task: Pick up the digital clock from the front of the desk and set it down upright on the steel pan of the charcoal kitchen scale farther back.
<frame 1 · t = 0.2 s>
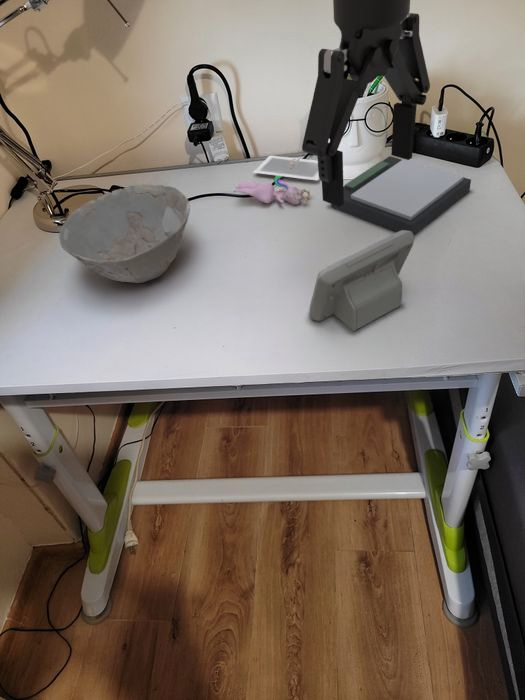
hand: (368, 178, 64), 19 cm above the table, tool pointing down, fingers open, 13 cm apart
touchpad: (292, 173, 109), on the table
scale: (399, 199, 95), on the table
ceramic bowl: (143, 267, 92), on the table
digital clock: (360, 305, 77), on the table
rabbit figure: (272, 202, 101), on the table
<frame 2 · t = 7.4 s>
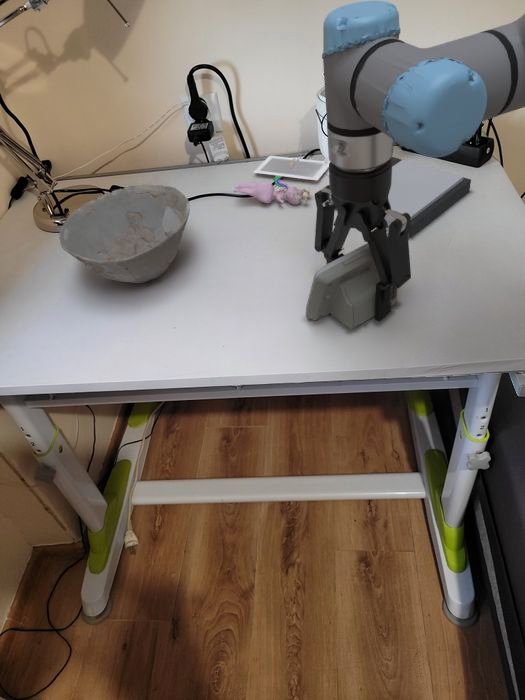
hand: (360, 303, 77), 0 cm above the table, tool pointing down, fingers closed on digital clock, 8 cm apart
digital clock: (355, 304, 77), on the table, touching gripper
everything else where it was.
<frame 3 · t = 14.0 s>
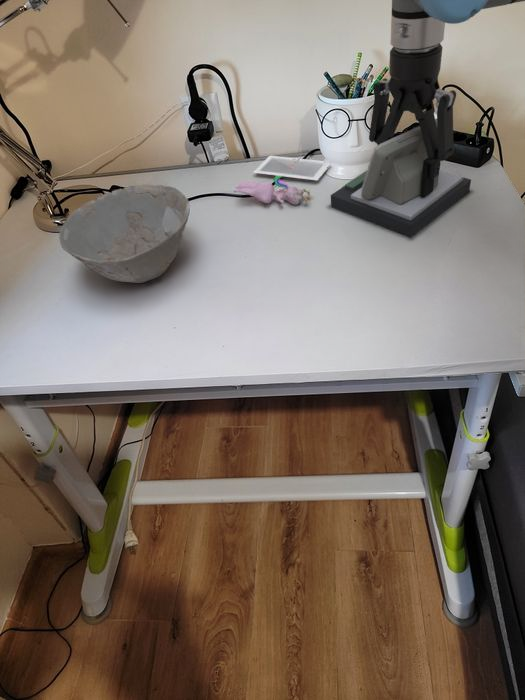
hand: (406, 187, 91), 4 cm above the table, tool pointing down, fingers closed on digital clock, 8 cm apart
digital clock: (402, 188, 92), point 3 cm above the table, touching gripper
everything else where it was.
when the fingers open (5 cm above the table, at t = 22.1 s): digital clock drops 1 cm, resting on scale.
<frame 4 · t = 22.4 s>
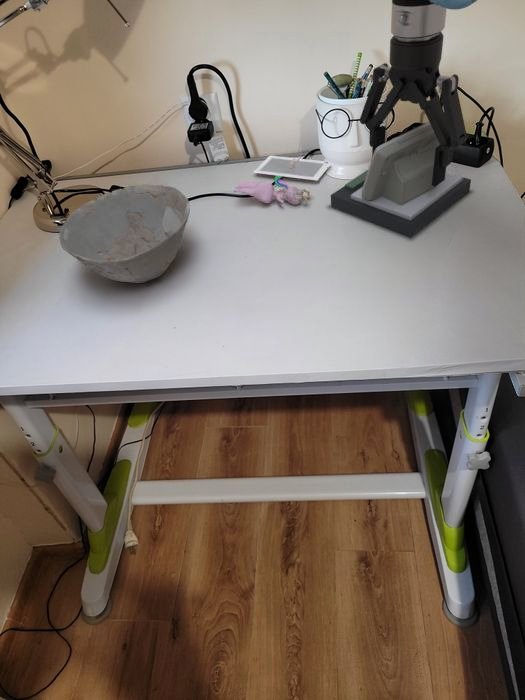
hand: (407, 173, 89), 6 cm above the table, tool pointing down, fingers open, 12 cm apart
digital clock: (402, 189, 92), point 3 cm above the table, touching scale
everything else where it was.
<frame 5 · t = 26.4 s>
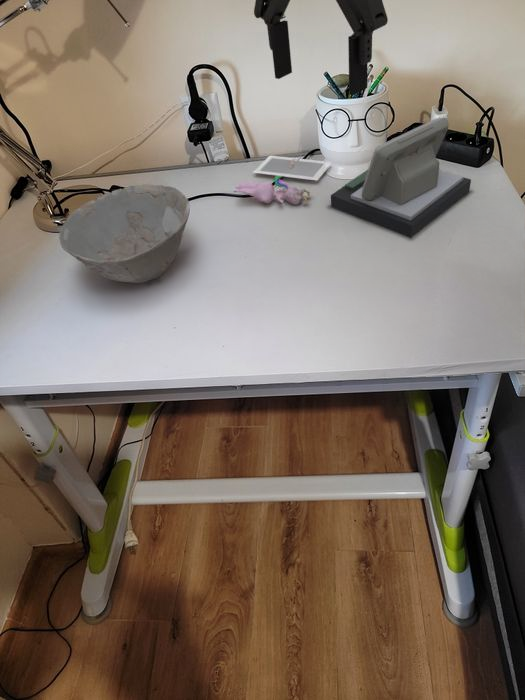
hand: (318, 83, 69), 27 cm above the table, tool pointing down, fingers open, 13 cm apart
nothing on the table moved.
at the end: digital clock inside the target area on the scale (1.0 cm from its centre), point 3.1 cm above the scale's base; digital clock tilted 0°; the gripper is holding nothing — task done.
